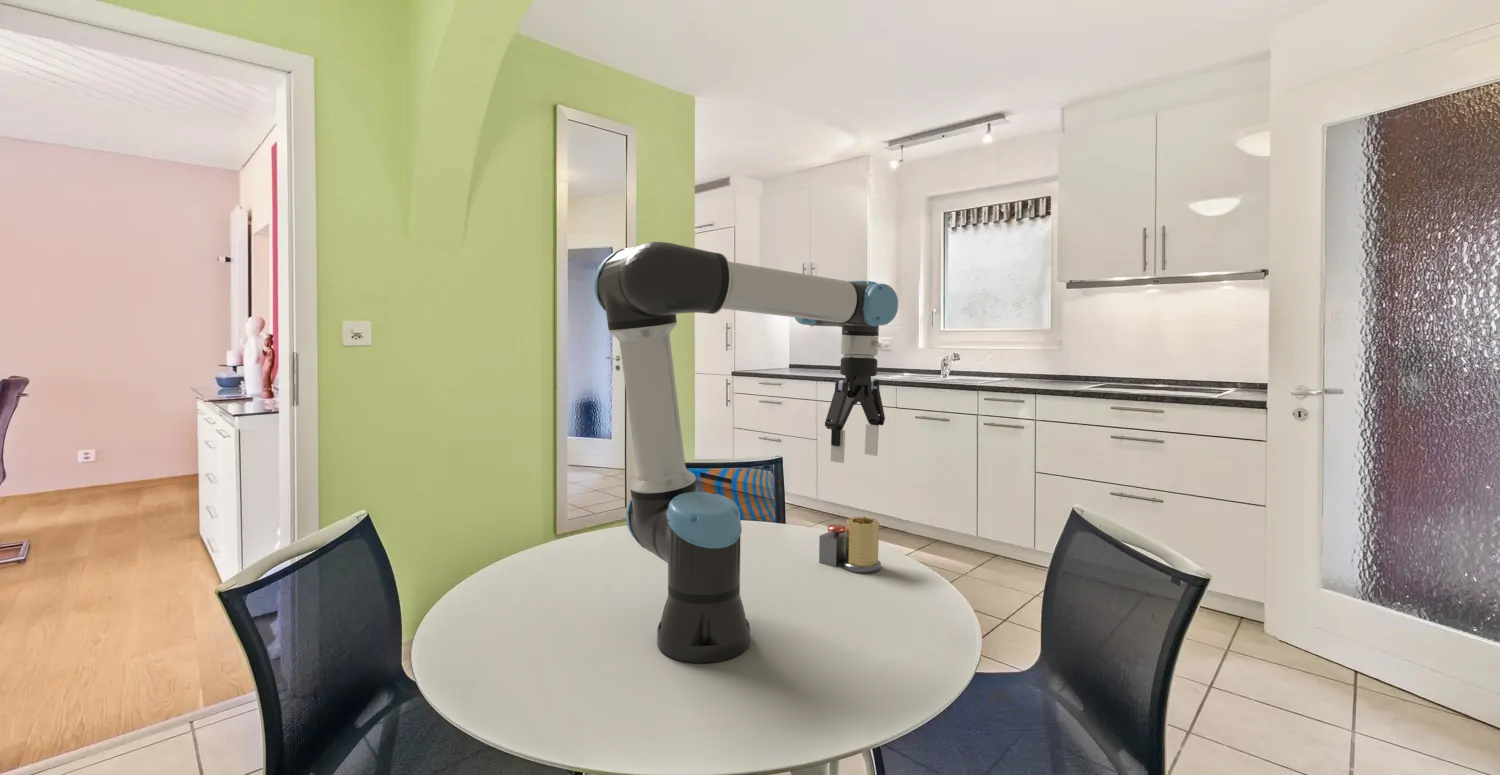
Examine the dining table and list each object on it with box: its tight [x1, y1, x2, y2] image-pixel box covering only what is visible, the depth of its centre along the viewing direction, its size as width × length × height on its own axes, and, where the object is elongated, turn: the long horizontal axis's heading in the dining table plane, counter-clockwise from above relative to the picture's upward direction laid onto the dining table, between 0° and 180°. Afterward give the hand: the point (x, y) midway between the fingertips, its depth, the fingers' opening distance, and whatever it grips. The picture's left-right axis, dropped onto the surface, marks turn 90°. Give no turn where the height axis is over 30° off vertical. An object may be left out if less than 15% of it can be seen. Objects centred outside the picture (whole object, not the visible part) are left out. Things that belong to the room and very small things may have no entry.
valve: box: [818, 523, 882, 575], centre depth 148 cm, size 8×13×8 cm, turn 50°
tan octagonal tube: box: [845, 516, 880, 567], centre depth 147 cm, size 6×6×9 cm
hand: (854, 458), depth 143 cm, fingers open, 13 cm apart
